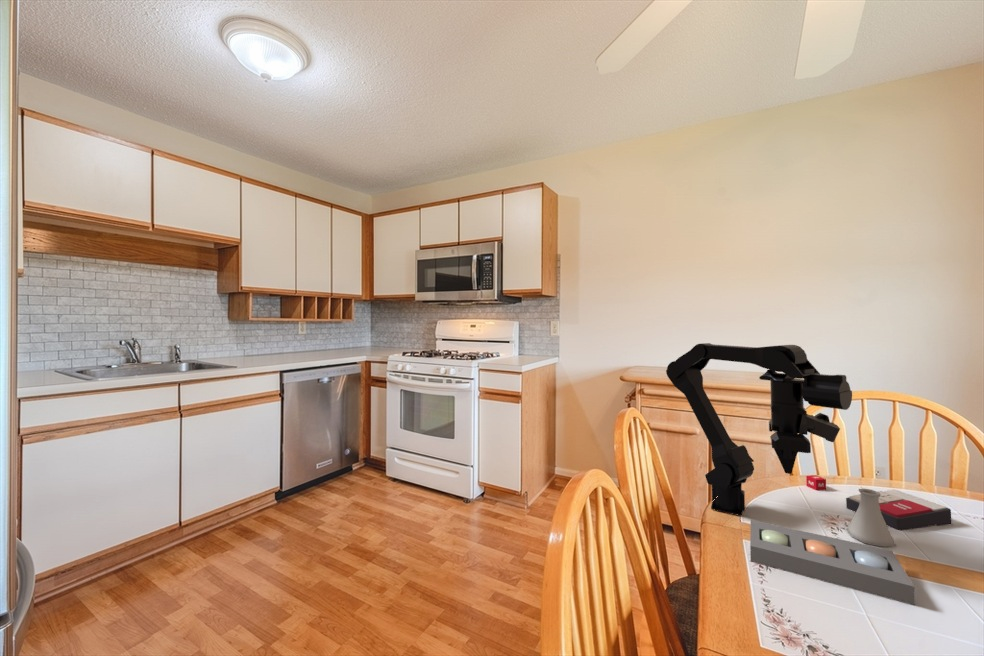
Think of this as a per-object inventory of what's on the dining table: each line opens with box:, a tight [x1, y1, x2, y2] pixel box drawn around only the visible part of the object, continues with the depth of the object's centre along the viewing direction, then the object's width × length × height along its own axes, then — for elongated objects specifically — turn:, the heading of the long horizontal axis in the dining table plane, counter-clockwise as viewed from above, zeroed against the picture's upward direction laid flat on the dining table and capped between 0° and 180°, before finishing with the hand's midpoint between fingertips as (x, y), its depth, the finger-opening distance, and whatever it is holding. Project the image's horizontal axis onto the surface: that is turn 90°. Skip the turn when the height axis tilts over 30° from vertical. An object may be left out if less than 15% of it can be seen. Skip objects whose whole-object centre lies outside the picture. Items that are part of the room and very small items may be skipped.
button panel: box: [749, 519, 916, 606], centre depth 73 cm, size 22×12×3 cm, turn 56°
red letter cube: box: [805, 474, 827, 491], centre depth 108 cm, size 3×3×3 cm
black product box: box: [845, 489, 952, 531], centre depth 91 cm, size 11×4×15 cm
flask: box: [846, 488, 897, 548], centre depth 82 cm, size 7×7×10 cm
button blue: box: [855, 551, 888, 570], centre depth 69 cm, size 4×4×3 cm
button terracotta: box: [806, 540, 835, 558], centre depth 73 cm, size 4×4×3 cm
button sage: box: [762, 530, 788, 546], centre depth 77 cm, size 4×4×3 cm
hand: (788, 473), depth 85 cm, fingers closed
